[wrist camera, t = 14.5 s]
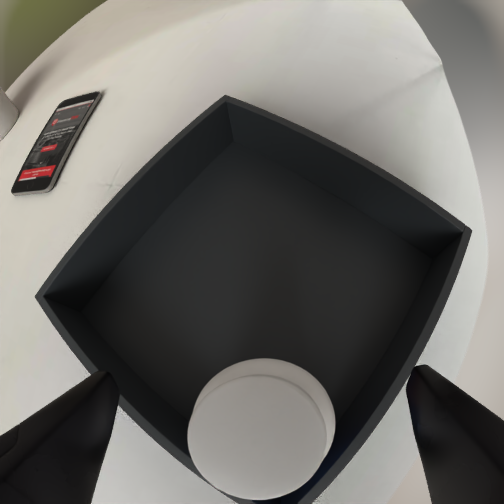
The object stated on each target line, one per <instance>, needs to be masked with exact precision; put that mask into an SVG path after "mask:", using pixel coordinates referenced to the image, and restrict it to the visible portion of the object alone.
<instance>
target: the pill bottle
mask: <svg viewBox="0 0 504 504" xmlns="http://www.w3.org/2000/svg"><path fill="white" fill-rule="evenodd" d="M334 433H335V413H334V409H333V406H332V403H331V400H330V398H329V396H328V394H327V392H326V390H325V389H324V388H323V386H322V385H321V384H320V383H319V381H318V380H317V379H316V378H315V377H313V376H312V375H311V374H310V373H308V372H307V371H306V370H304V369H302V368H301V367H299V366H296V365H294V364H292V363H289V362H286V361H282V360H277V359H268V358H260V359H251V360H246V361H243V362H239V363H237V364H234V365H232V366H229V367H227V368H226V369H224V370H222V371H221V372H219V373H218V374H217V375H216V376H214V377H213V378H212V379H211V380H210V381H209V382H208V383H207V384H206V386H205V387H204V388H203V390H202V391H201V393H200V395H199V396H198V398H197V401H196V403H195V406H194V410H193V414H192V416H191V419H190V422H189V427H188V439H187V440H188V448H189V452H190V455H191V458H192V460H193V462H194V465H195V466H196V468H197V469H198V471H199V472H200V473H201V475H202V476H203V477H204V478H205V479H206V480H207V481H208V482H210V483H211V484H212V485H213V486H214V487H216V488H217V489H219V490H221V491H223V492H225V493H227V494H229V495H232V496H235V497H239V498H243V499H252V500H268V499H272V498H277V497H281V496H283V495H286V494H288V493H291V492H293V491H295V490H296V489H298V488H299V487H301V486H302V485H304V484H305V483H306V482H307V481H308V480H309V479H310V478H311V477H312V476H313V475H314V473H315V472H316V471H317V469H318V468H319V466H320V464H321V462H322V461H323V459H324V458H325V456H326V455H327V453H328V451H329V449H330V447H331V444H332V442H333V438H334Z"/></svg>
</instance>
